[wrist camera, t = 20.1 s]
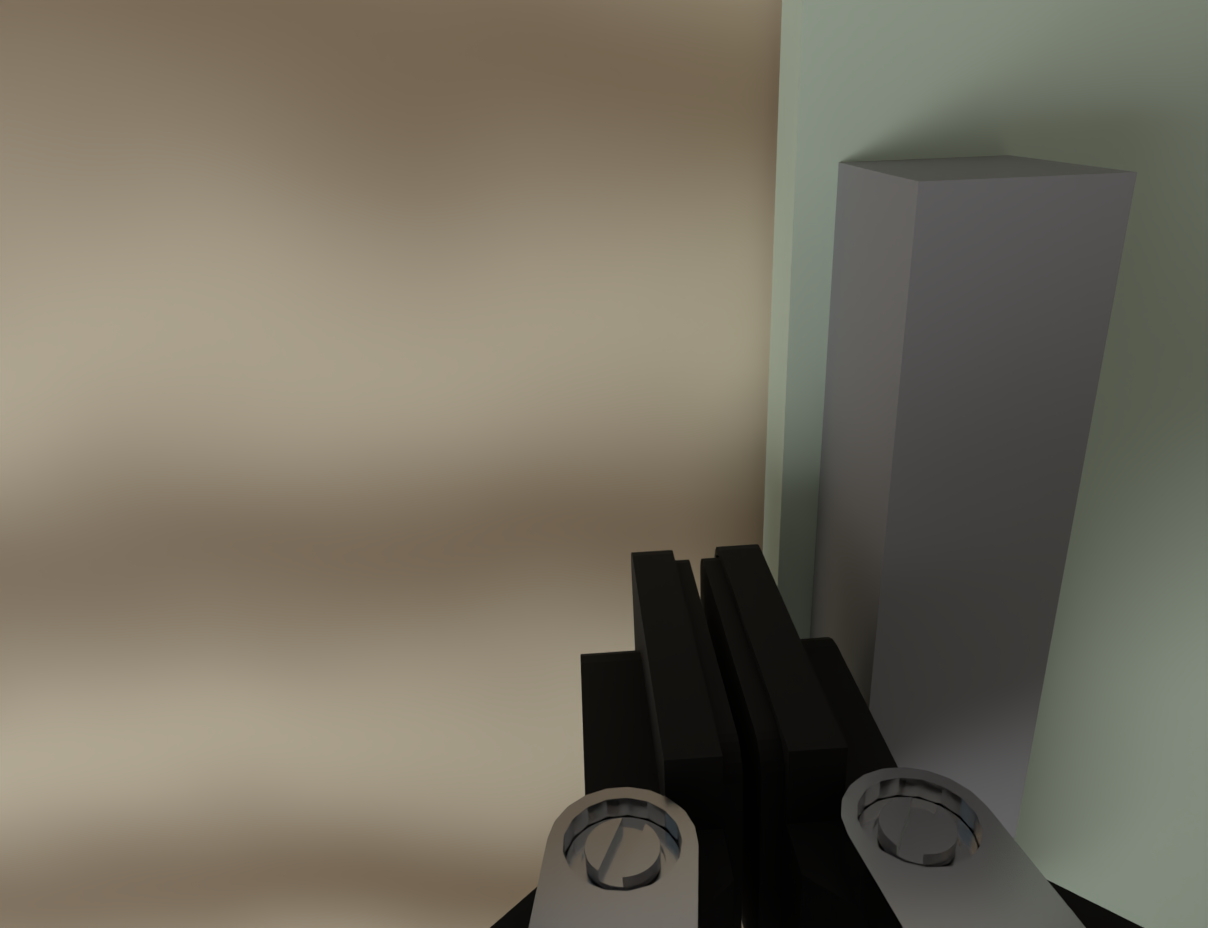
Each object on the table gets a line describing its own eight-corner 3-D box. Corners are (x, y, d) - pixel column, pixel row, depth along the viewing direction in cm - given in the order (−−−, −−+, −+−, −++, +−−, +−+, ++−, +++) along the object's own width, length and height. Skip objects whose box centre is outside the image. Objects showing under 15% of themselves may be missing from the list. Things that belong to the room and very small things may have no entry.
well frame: (1755, 820, 20) (1907, 913, 18) (24, 932, 19) (-48, 1045, 17) (2346, -172, 13) (2728, -230, 11) (-378, -81, 12) (-600, -123, 10)
